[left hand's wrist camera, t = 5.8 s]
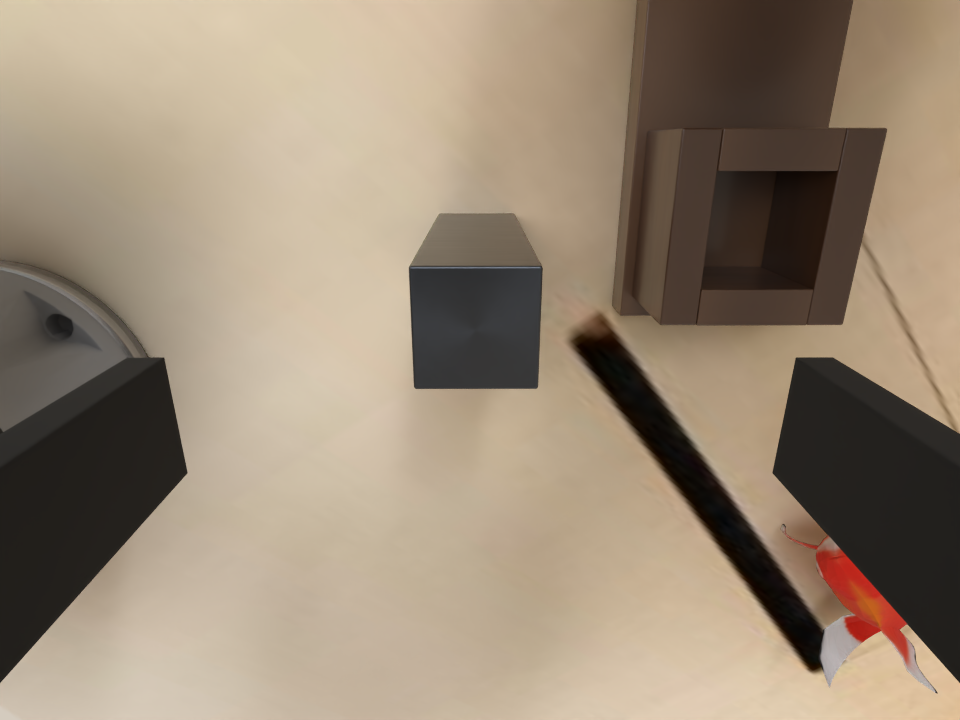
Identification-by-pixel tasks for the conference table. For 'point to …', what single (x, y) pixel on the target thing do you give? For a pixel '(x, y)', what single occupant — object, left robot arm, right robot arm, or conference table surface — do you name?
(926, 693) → the conference table surface
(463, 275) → the peg
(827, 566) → the fish
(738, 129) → the holder
